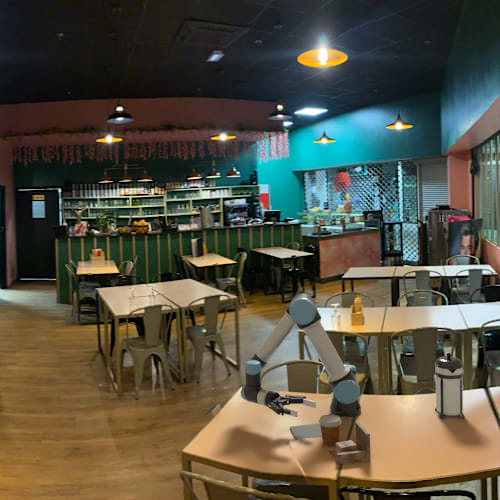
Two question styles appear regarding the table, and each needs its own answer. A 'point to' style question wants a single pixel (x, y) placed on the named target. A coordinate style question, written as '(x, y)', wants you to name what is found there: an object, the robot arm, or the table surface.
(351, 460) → the offcut rack
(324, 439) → the disposable coffee cup
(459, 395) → the coffee press
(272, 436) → the table surface
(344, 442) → the offcut stack
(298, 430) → the slate mat
